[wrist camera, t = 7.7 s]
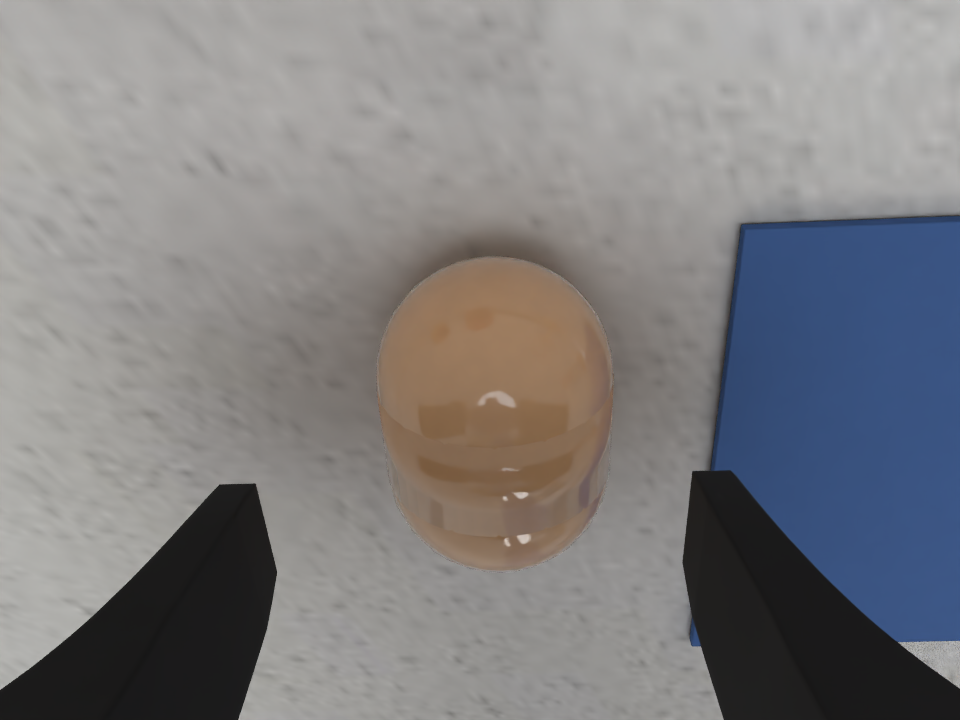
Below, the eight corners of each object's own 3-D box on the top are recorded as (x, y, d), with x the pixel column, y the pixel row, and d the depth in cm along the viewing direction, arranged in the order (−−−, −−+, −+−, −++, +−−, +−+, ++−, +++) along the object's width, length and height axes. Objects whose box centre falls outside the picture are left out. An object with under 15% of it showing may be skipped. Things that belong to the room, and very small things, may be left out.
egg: (574, 460, 20) (635, 599, 16) (389, 488, 20) (411, 640, 16) (577, 206, 17) (656, 310, 13) (354, 233, 16) (371, 349, 12)
